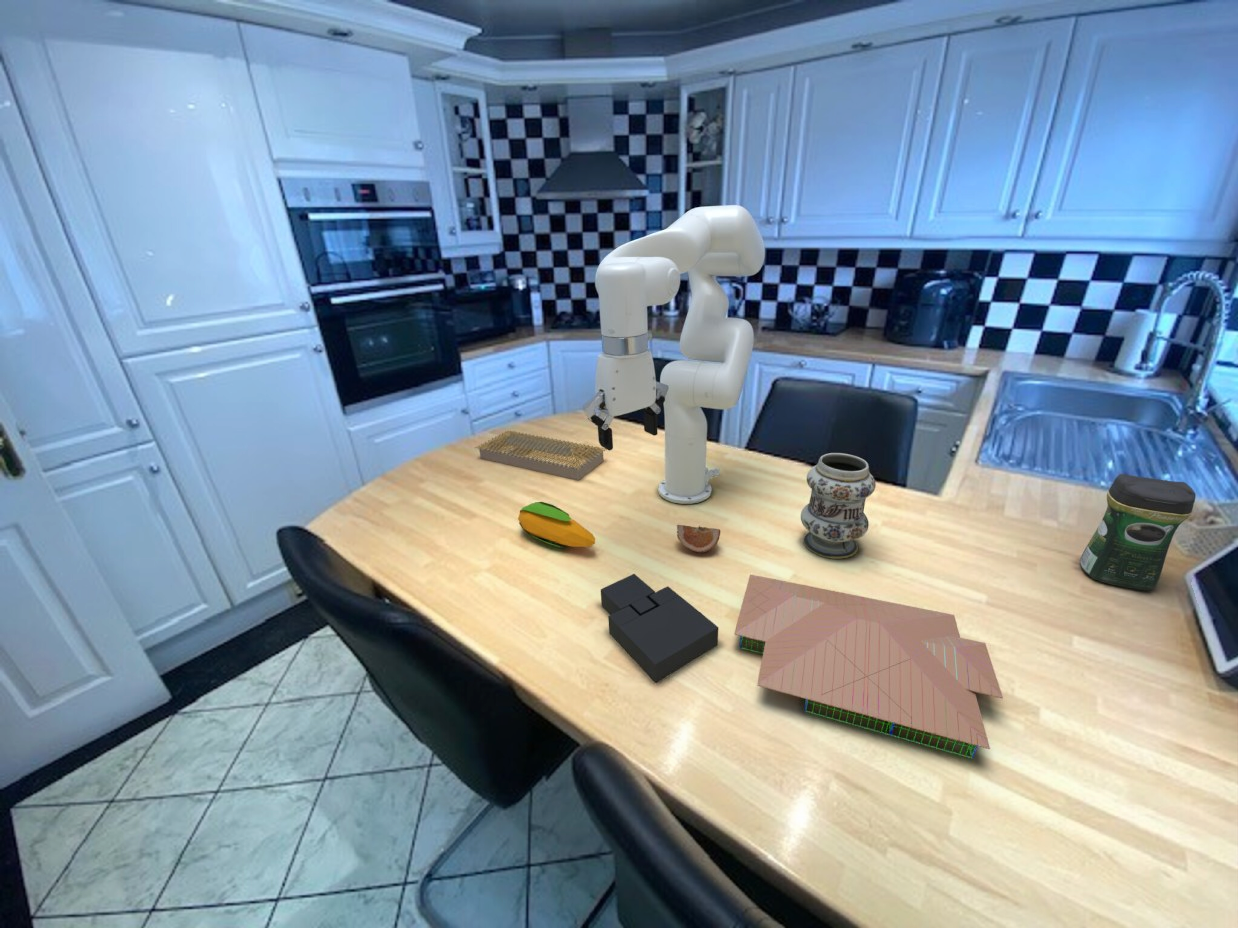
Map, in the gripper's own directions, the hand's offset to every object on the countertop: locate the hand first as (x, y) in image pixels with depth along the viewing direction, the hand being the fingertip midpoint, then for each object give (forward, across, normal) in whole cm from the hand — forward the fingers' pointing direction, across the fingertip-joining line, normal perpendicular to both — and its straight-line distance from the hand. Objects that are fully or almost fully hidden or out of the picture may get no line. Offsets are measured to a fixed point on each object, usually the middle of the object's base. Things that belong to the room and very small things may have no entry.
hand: (629, 440), depth 90 cm
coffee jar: (+24, -61, +57) cm, 87 cm away
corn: (+24, +10, -12) cm, 29 cm away
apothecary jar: (+24, -32, +22) cm, 46 cm away
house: (+24, -8, +42) cm, 49 cm away
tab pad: (+23, +11, +14) cm, 29 cm away
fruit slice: (+24, -11, +7) cm, 27 cm away
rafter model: (+24, -5, -51) cm, 57 cm away
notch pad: (+23, +10, +22) cm, 34 cm away
